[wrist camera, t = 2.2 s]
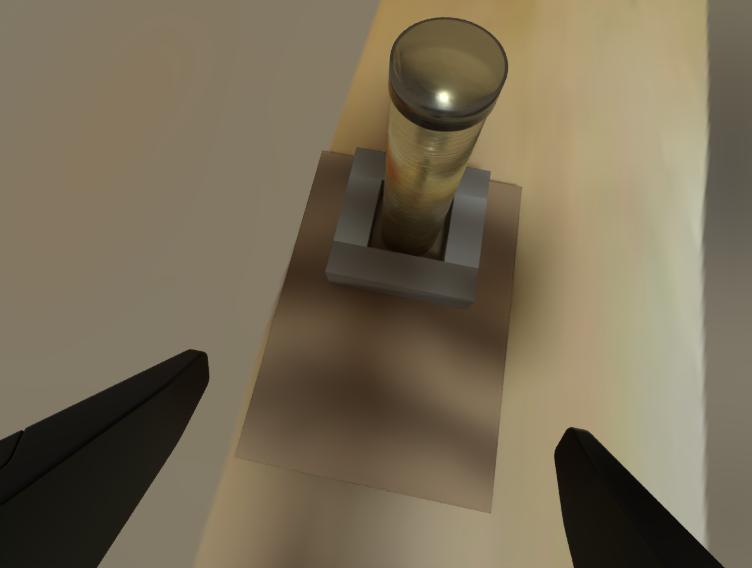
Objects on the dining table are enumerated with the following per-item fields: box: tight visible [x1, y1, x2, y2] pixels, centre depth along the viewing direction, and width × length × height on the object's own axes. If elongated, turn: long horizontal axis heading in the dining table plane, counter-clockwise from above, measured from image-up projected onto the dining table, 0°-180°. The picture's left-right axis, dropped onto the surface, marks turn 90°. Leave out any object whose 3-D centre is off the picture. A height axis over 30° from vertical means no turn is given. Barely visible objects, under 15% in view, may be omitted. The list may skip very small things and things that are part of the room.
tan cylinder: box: [381, 17, 508, 257], centre depth 18 cm, size 4×4×13 cm
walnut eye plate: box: [235, 147, 522, 514], centre depth 23 cm, size 20×14×3 cm
